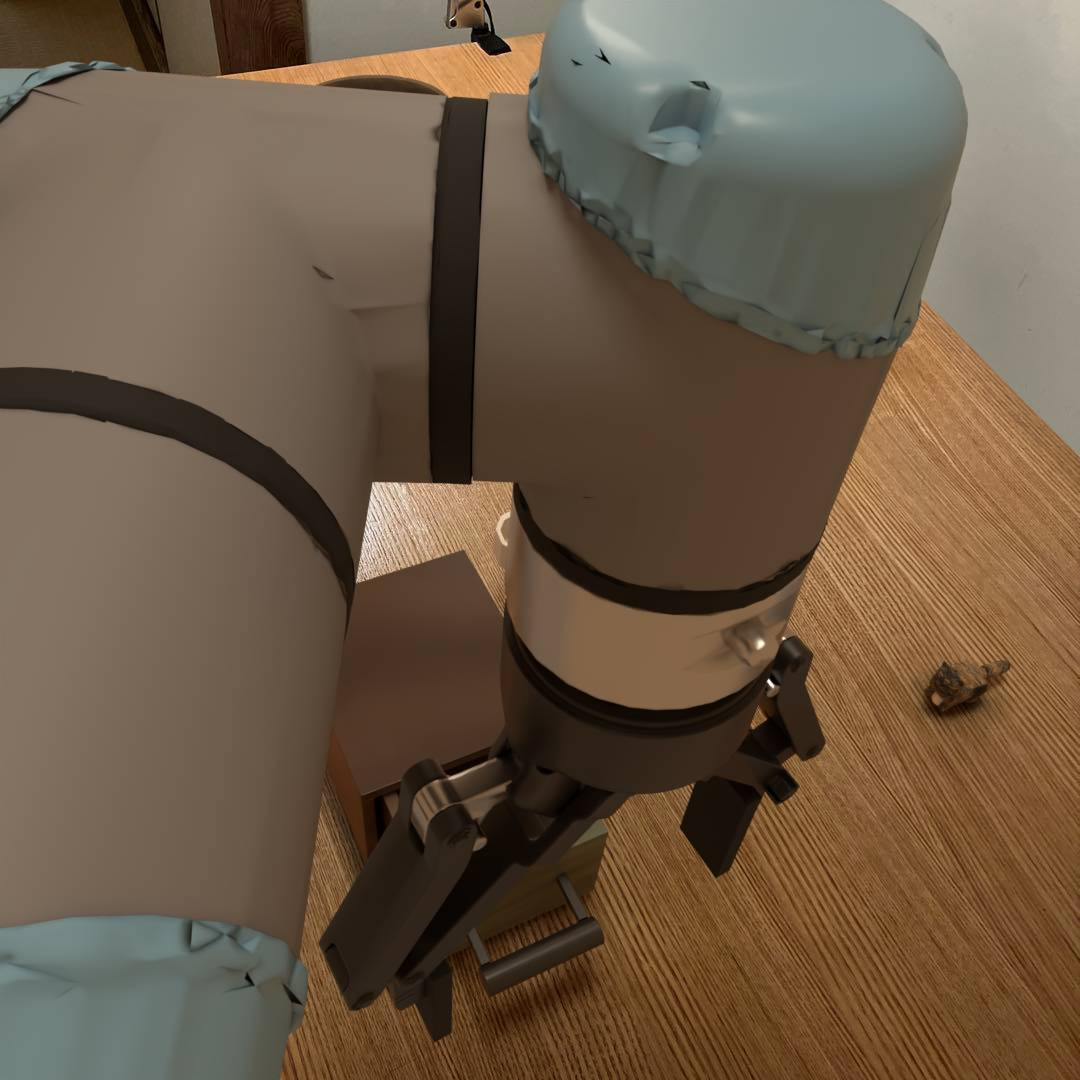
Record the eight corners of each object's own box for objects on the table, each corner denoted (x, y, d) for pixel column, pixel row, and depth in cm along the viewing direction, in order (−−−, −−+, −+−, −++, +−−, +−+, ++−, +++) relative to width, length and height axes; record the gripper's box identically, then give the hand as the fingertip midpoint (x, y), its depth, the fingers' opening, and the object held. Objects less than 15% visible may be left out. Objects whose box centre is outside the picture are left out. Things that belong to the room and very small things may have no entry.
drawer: (628, 955, 64) (648, 900, 58) (451, 1041, 60) (452, 991, 54) (502, 718, 74) (507, 651, 68) (343, 778, 70) (334, 713, 64)
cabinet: (549, 797, 71) (561, 718, 64) (368, 872, 67) (360, 796, 60) (461, 634, 80) (464, 549, 72) (296, 691, 75) (281, 606, 68)
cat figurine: (903, 695, 78) (930, 659, 76) (976, 672, 82) (1004, 638, 79) (928, 725, 77) (957, 690, 74) (1001, 700, 80) (1031, 666, 78)
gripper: (250, 954, 22) (331, 1184, 38) (1061, 539, 32) (857, 860, 48) (138, 686, 26) (253, 994, 42) (886, 391, 36) (751, 731, 52)
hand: (573, 923), depth 45 cm, fingers open, 13 cm apart
